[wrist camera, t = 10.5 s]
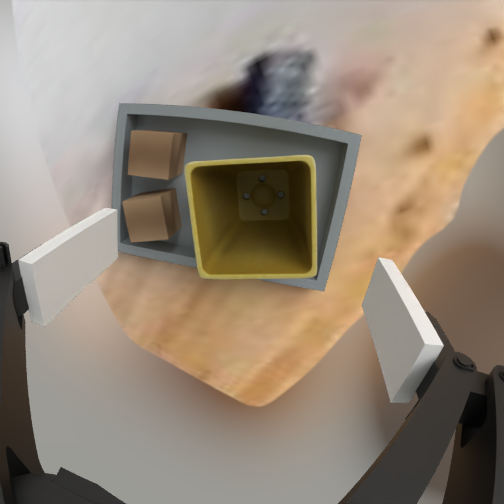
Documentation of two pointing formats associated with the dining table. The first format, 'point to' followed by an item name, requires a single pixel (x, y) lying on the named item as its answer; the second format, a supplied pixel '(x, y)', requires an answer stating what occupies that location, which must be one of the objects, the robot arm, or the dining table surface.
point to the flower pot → (254, 217)
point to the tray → (235, 147)
